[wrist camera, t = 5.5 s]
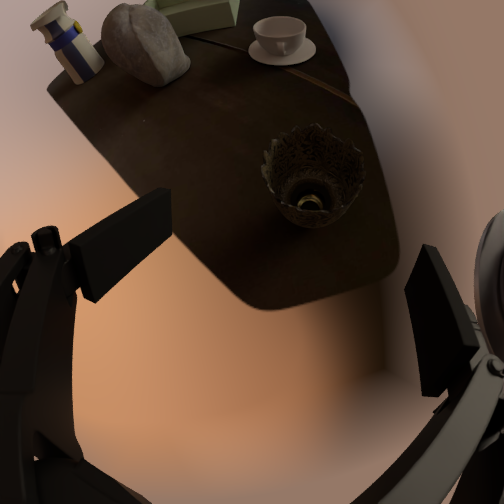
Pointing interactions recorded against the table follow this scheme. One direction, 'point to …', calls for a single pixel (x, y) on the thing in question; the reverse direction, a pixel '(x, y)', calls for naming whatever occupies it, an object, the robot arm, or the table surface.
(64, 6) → the white blue vase
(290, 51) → the teacup
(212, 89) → the table surface
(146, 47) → the decorative stone
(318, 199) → the dark brown hollow vessel
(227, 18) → the bin
